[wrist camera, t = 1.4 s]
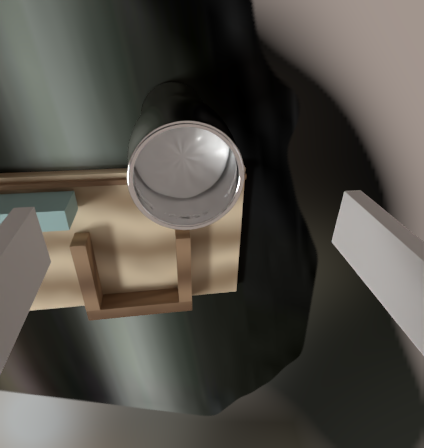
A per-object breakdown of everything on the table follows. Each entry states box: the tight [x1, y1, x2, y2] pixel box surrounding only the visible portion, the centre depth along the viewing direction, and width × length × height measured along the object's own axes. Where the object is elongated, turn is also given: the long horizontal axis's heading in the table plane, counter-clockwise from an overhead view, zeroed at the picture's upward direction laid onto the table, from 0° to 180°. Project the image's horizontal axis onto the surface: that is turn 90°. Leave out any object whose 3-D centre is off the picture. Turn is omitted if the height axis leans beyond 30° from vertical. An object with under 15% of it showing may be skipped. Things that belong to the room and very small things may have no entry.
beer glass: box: [127, 82, 245, 230], centre depth 24 cm, size 7×7×15 cm
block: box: [0, 191, 78, 232], centre depth 30 cm, size 2×9×4 cm, turn 89°
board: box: [0, 166, 247, 320], centre depth 35 cm, size 17×26×4 cm, turn 89°
